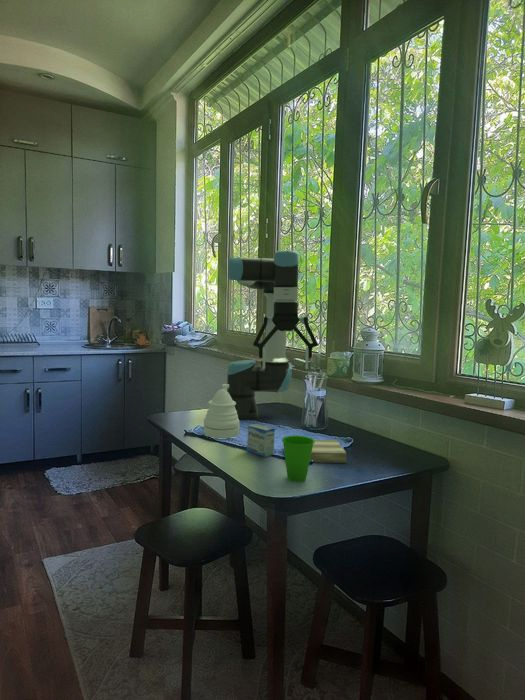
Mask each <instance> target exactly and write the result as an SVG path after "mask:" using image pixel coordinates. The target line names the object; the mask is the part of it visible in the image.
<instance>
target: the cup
mask: <svg viewBox="0 0 525 700" xmlns="http://www.w3.org/2000/svg"><path fill="white" fill-rule="evenodd" d="M314 440H315V439H314V438H312V437H310V436H305V435H297V434H296V435H295V434H294V435H293V434H292V435H286V436H283V437H282V438H281V441H282V442H283V444H284V449H283V451H284V453H283V454H284V460H285V469H286V477H287V480H289V481H291V482H295V483H299V482H300V483H301V482H305V480H306V479H307V477H308V476H307V475H308V471H309V467H310V463H311V462H310V457H311V452H312V448H313V443H315V441H314Z"/></svg>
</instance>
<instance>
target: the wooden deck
mask: <svg viewBox="0 0 525 700" xmlns="http://www.w3.org/2000/svg"><path fill="white" fill-rule="evenodd" d="M314 441H315V443H313V448H312V452H311V457H310V460H313V461H314V462H313V463H338V464H339V463H341V464H342V463H344V464H346V463H347V451H346V450H345V448H343V446H342V445H341V444H340V442H339V441H338V440H337V439H314ZM283 447H284V444H283V446H282V448H283Z"/></svg>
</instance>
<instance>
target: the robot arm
mask: <svg viewBox="0 0 525 700" xmlns="http://www.w3.org/2000/svg"><path fill="white" fill-rule="evenodd" d="M299 262H300V261H299V253H298V252H297V251H295V250H277V251H275V252H274V255H273V258H259V257H241V256H236V257H229V258H228V261H227V263H228V264H227V278H228V280H230V281H235V282H236V283H238V284H239V285H240V286H243V287H245V288H248V289H252V290H263V295H264V296H265V297H266V316H264V317H263V323H262V325H261V327H260V330H259V331H258V333H257V336H256V338H255V340H254V341H253V344H252V345H253V346H254V347H256V348H258V358H259V359H260V363H257V362H256V360H255V359H243V360H241V359H240V360H236V361H232V362H230V363H228V366H227V373H226V375H227V380H226V381H227V383H226V384H229V388H228V389H227V390H226V391H227V392H228V393H229V394H230V396H231V398H232V400H233V401H235V402H236V405H235V409H236V411H237V415H238V419H240V420H239V421H241V420H242V421H243V420H244V421H245V420H246V421H247V420H252V419H256V418H258V417H259V409H258V405H257V401H256V398H255V392H256V393H257V392H258V393H264V392H265V393H276V394H278V393H286V392H288V390H289V389H290V386H291V381H292V373H293V365H292V364H290V360H289V359H288V358H287V356H286V349H287V348H286V347H287V332H291V331H294V332H295V333H296V334H297V335H298V337H299V338H300V340H302V342H303V343H304V344H305V345H306V346H307V347H305V356H304V357H305V358H304V359H305V360H304V361H305V365H304V367H305V370H309V359H312V358H313V349H314V347H318V345H319V343H318V342H317V339H316V337H315V335H314V333H313V331H312V329H311V327H310V325H309V319H308V317H307V316H303V317H299V316H298V315H299V313H298V311H299V302H297V301H298V299H299V284H298V283H299ZM299 322H301V324H302V325H304V327H305V330H306V331H307V333H308V335H309V338H310V340H311V342H310V341H309V340H308V339H307V337H306V336H305V335H304V334H303V333H302V332H301V330H300V329H299V328H298V327H297V325H298V324H299ZM264 332H265V338H264V339H262V341H261V342H260V340H261V337H262V336H263V334H264ZM264 346H265V347H264Z"/></svg>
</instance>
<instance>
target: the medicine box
mask: <svg viewBox="0 0 525 700" xmlns="http://www.w3.org/2000/svg"><path fill="white" fill-rule="evenodd" d="M275 432H276V428H273V427H269V426H265V425H262V424H259V423H258V424H257V423H254V424H250V425H248V426H247V441H246V443H247V444H246V452H247V453H250V454H253V455H257V456H260V457H264V458H266V457H270V456H273V455H275V454H274V453H275V435H276V434H275Z"/></svg>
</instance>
